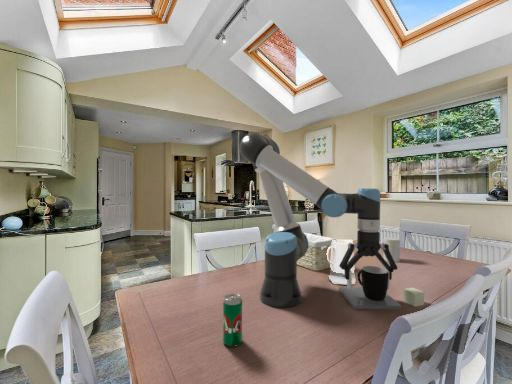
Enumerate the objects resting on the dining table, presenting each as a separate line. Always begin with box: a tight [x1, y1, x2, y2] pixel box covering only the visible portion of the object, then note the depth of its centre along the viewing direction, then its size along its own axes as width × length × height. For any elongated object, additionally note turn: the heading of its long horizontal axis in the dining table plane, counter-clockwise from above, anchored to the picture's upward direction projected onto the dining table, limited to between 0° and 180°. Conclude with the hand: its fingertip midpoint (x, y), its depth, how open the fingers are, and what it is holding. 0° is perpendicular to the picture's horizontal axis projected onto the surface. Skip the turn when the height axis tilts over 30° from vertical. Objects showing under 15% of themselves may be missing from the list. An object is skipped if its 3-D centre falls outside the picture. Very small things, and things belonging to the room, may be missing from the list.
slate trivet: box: [338, 286, 403, 310], centre depth 95 cm, size 16×16×1 cm
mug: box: [357, 265, 389, 301], centre depth 94 cm, size 12×9×10 cm
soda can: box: [222, 293, 243, 347], centre depth 68 cm, size 5×5×12 cm
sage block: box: [402, 287, 425, 307], centre depth 91 cm, size 4×4×4 cm
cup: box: [382, 236, 401, 263], centre depth 145 cm, size 8×8×12 cm
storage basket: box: [297, 232, 337, 272], centre depth 137 cm, size 24×16×15 cm
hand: (367, 288), depth 95 cm, fingers open, 13 cm apart
